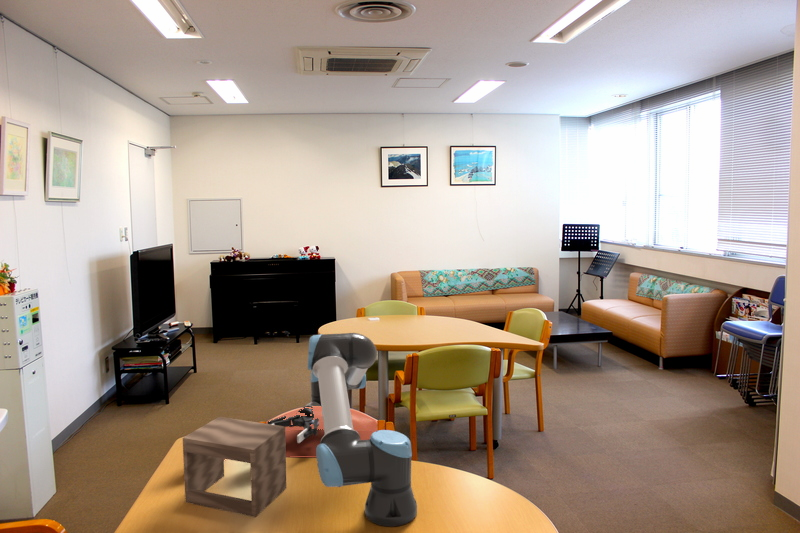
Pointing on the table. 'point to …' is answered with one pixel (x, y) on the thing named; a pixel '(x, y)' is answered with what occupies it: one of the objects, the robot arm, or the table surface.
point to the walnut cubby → (238, 444)
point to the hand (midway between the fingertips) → (280, 436)
